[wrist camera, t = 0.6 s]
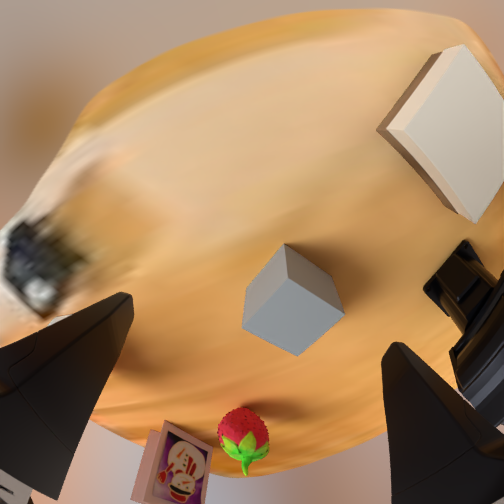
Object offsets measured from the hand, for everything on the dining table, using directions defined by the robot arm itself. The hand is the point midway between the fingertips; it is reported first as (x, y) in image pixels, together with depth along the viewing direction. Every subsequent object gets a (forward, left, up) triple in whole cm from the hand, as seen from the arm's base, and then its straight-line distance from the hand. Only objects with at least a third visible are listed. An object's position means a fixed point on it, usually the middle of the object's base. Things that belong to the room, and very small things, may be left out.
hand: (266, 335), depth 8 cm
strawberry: (-13, +22, -13) cm, 28 cm away
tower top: (-7, -14, -11) cm, 19 cm away
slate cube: (-5, +4, -13) cm, 14 cm away
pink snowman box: (-11, +40, -13) cm, 43 cm away
